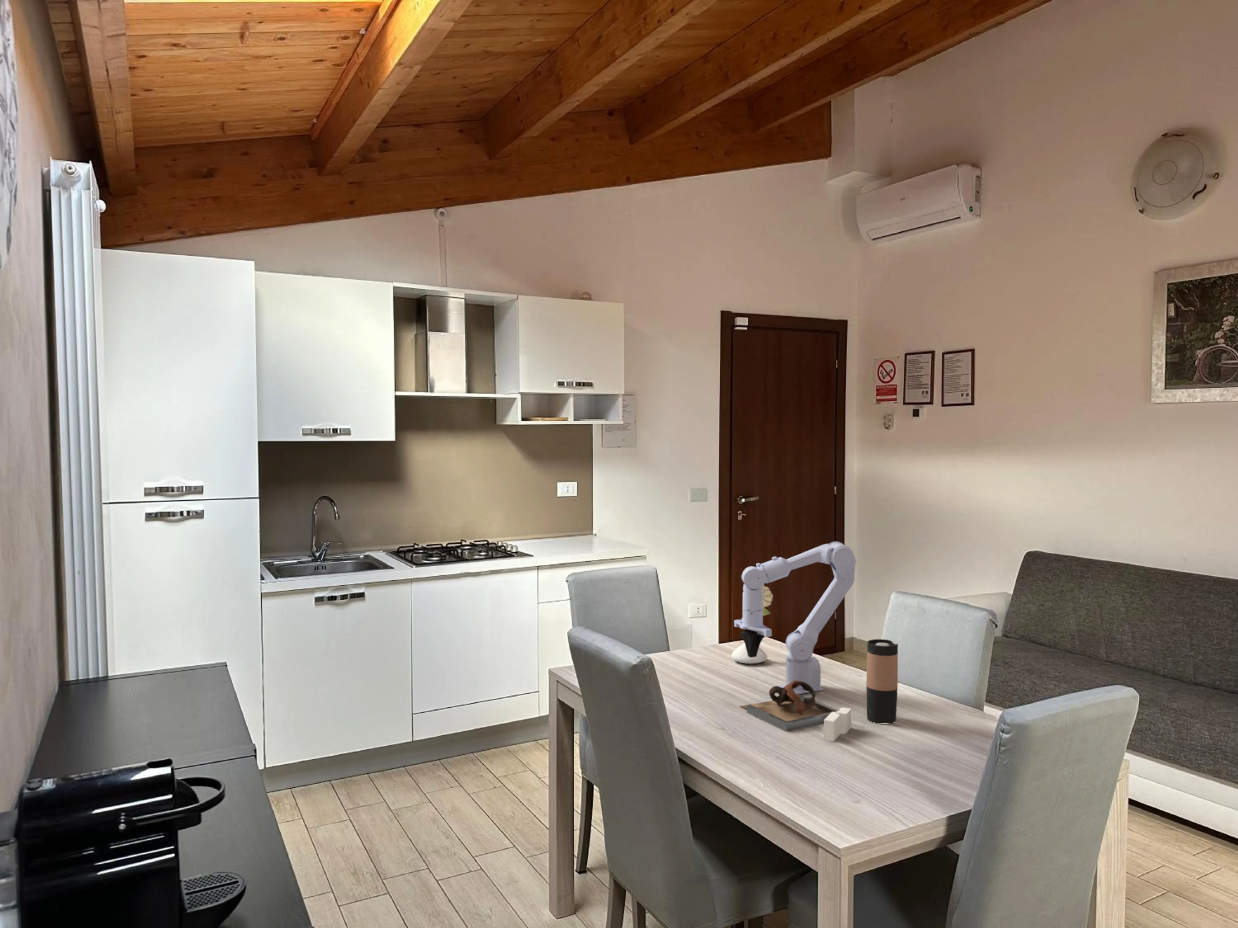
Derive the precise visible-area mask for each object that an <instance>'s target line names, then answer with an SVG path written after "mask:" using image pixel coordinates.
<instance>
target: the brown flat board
mask: <svg viewBox="0 0 1238 928" xmlns="http://www.w3.org/2000/svg"><path fill="white" fill-rule="evenodd" d="M749 704H750V705H752V706H755V707H757V708H759V709H761V710H763V711H765V712H768V713H770V714H772V715H774V716H776V717H778V718H780V719H783V720H785V721H790V720H795V719H800V718H805V717H810V716H815V715H820V714H825V713H827V712H825V711H823V710H820V709H818V708H816V707H811V708H810V709H808V710H804V712H803V713H802V714H799V713H796V709H797V707H798V704H797V703H796V702H794V703H791V702H787V701H786V702H783V703H781V706H778V705H777V703H776V702H774V701H773V700H772V699H771V700H766V701H760V702H754V703H749ZM747 705H748V704H744V705H739V706H738V707H739V708H741V709H743V710H744V711H747Z"/></svg>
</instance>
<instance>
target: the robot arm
mask: <svg viewBox="0 0 1238 928" xmlns="http://www.w3.org/2000/svg"><path fill="white" fill-rule="evenodd" d="M815 563H822V564H826V565H830V566H831V570H832V572H833V576H834V577H833V580H832V581H831V583H830V584H829V585H828V587H827V589H826V590H825V591H824V592H823V594H822V596H821V597H820V598H819V600H818V601H817V603H816V604H815V605H814V607H813V609H812V610H811V612H810V613H809V615H808V616H807V617H806V619H804V622H803V623H801V624H800V625H799V626H798V627H797V629H795V630H794V631H793V632H790V633H789V634H788V635H787V637H786V639H785V645H786V648H787V650H788V653H787V655H786V656H785V667H786V668H785V669H786V670H785V684H781V685H778V686H779V687H782V688H783V687H785V686H786V685H788V684H790V683H791V682H792V681H796V680H797V681H802V682H805V683H807V684H809V685H810V686H811V687H812V688H813V689H814V691H815V692H818V691H823V687H821V678H822V677H821V675H822V672H821V671H822V669H821V663H820V661H819V660H818V659H817V658H816V657H815V656H813V653H814V648H815V646H816V644H817V642H818V638H819V634H820V633H821V631H822V630H823V629H824V627H825V626H826V624H827V622H828V621H829V620H830V618H831V617H832V615H833V614H834V613H835V611H836V609H838V607H839V605H840V603H841V602H842V601H843V599H844V598H845V596H846V595H847V593H849V591H850V589H851V588H852V587H853V585H854V583H855V575H856V573H855V571H856V568H855V567H856V564H857V560H856V556H855V554H854V551H853V549H851V547H849V546H847V545H844V543H843V542H840V541H832V542H830V543H825V544H821V545H819V546H816V547H814V548H812V549H809V550H807V551H803V552H802V553H799V554H797V555H793V556H791V557H790V558H789V557H788V558H787V559H786V558H784V557H781V556H779V557H777V556H776V555H775V556H773V557H771V560H768V561H766V562H763V563H759V562H757V563H756V564H755V565H756V566H751V565H750V566H747V567H746V568H744V570H743V571H742V574H741V576H740V577H741V581H742V582H743V587H742V591H743V592H742V608H743V609H742V618H743V620H742V619H734V621H733V624H734V627H735V628H740V629H742V630H743V631H740V632H739V635H740V636H741V637H742V641H743V643H745V646H746V650H747V654H748V657H756V656H757V652H758V649H759V648H760V645H761V643H762V641H763V639H764V638H768V637H772V636H773V634H772V633H773V632H772V628H769V627H767V626H766V625H764V623H763V622H764V620H763V619H764V616H763V593H762V586H763V585H764V586H765V584H769V583H772V582H775V581H777V580H780V579H783V578H786V577H788V576H789V575H790V572H791V571H792V570H796V569H800V568H802V567H805V566H808V565H812V564H815ZM734 627H733V628H734ZM793 690H794V691H795V693H796V694H798V695H803V694H807V693H808V694H809V693H810V691H806V690H803V687H802V686H800V685H799V686H798V687H797V688H794V689H793Z"/></svg>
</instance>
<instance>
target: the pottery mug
mask: <svg viewBox="0 0 1238 928" xmlns="http://www.w3.org/2000/svg"><path fill="white" fill-rule="evenodd" d="M785 685H786V684H785ZM799 685H800V686H802V687H803V690H806V691H810V692H809V693H810V694H811V697H807V698H804V702H803V701H800V696H799V695H800V694H796V693H795V691H794V690H793V689H794V688H797V687H798V686H799ZM779 686H780V685H775V686H772V687H771V688H769V690H768V695H769V697H770V699H771V700H773V701H774V702H776V703H777V705H778V706H781V703H783V702H786V701H787V702H791V703H794V702H796V703H797V704H798V707H797V709H796V713H799V714H802V713H803V712H804V710H808V709H810V708H811V707H813V706H814V703H815V701H816V694H817V693H816V691H814V689H813V688H812V687H811V686H810V685H809V684H807V683H805V682H802V681H797V680H796V681H792V682H791V683H790V684H788V685H786V686H785V687H783V688H782V687H779ZM776 694H778V695H777V696H776Z"/></svg>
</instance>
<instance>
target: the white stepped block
mask: <svg viewBox="0 0 1238 928" xmlns="http://www.w3.org/2000/svg"><path fill="white" fill-rule="evenodd" d="M850 728H852V708H849V707H841V708H839V709H838V711H837V712H831V713H830V714H829V715H828V716H827V717H826V718H825V719H824V724H823V740H824V741H829V742H835V741H836V739H837V738H838V737H839V736H840V735H844V734H847V733H848V732H849V731H850V730H851V729H850Z"/></svg>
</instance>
